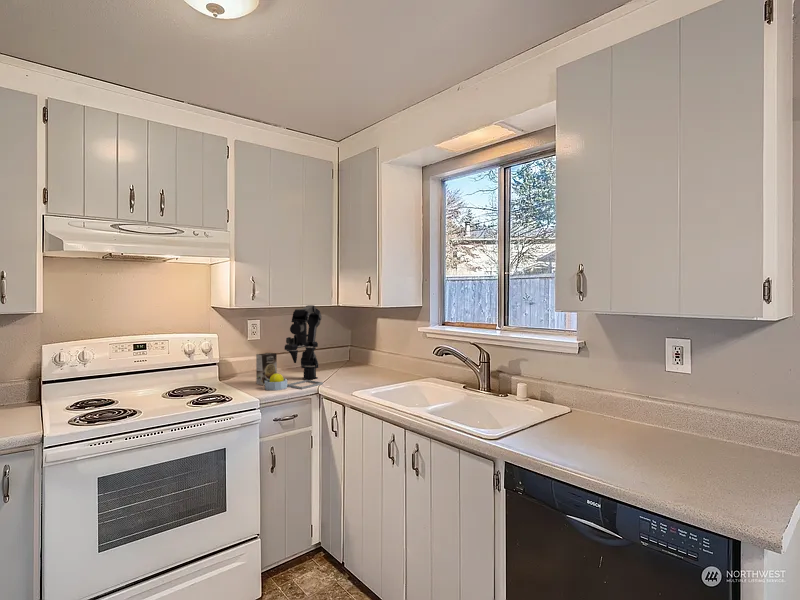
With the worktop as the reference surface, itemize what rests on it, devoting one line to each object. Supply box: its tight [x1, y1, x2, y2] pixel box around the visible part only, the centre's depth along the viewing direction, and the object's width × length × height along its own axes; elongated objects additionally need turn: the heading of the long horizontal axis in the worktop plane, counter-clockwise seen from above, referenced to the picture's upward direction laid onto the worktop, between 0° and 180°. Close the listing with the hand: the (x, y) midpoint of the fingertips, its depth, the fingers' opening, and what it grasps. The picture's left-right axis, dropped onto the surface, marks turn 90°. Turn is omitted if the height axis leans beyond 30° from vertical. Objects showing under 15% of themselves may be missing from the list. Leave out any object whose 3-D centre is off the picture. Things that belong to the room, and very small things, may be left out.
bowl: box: [264, 378, 288, 391], centre depth 238 cm, size 11×11×4 cm
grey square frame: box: [287, 379, 324, 390], centre depth 244 cm, size 15×13×1 cm
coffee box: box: [255, 352, 278, 386], centre depth 250 cm, size 9×6×16 cm
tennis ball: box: [270, 372, 285, 382], centre depth 238 cm, size 7×7×7 cm
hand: (301, 361), depth 246 cm, fingers open, 9 cm apart
